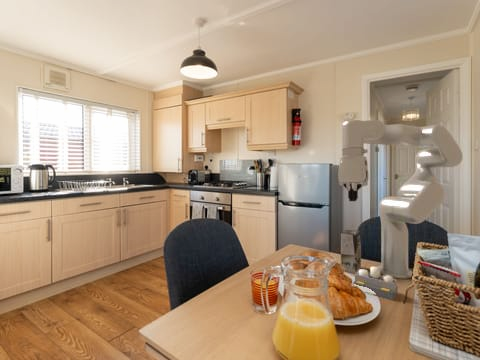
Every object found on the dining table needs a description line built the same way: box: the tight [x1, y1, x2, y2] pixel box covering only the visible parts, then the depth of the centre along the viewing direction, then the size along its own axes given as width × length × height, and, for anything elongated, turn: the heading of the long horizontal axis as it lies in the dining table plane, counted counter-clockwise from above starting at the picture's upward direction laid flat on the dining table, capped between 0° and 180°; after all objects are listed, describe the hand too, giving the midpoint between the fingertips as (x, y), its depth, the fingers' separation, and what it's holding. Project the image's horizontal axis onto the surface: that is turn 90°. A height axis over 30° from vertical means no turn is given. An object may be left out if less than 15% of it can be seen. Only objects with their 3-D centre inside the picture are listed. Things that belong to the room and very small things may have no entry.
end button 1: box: [382, 274, 394, 283], centre depth 89 cm, size 3×3×4 cm
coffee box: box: [340, 229, 362, 274], centre depth 112 cm, size 9×6×16 cm
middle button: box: [369, 266, 381, 280], centre depth 91 cm, size 3×3×4 cm
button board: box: [353, 270, 399, 301], centre depth 91 cm, size 7×12×5 cm, turn 46°
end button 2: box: [358, 268, 369, 277], centre depth 94 cm, size 3×3×4 cm
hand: (353, 200), depth 99 cm, fingers closed
